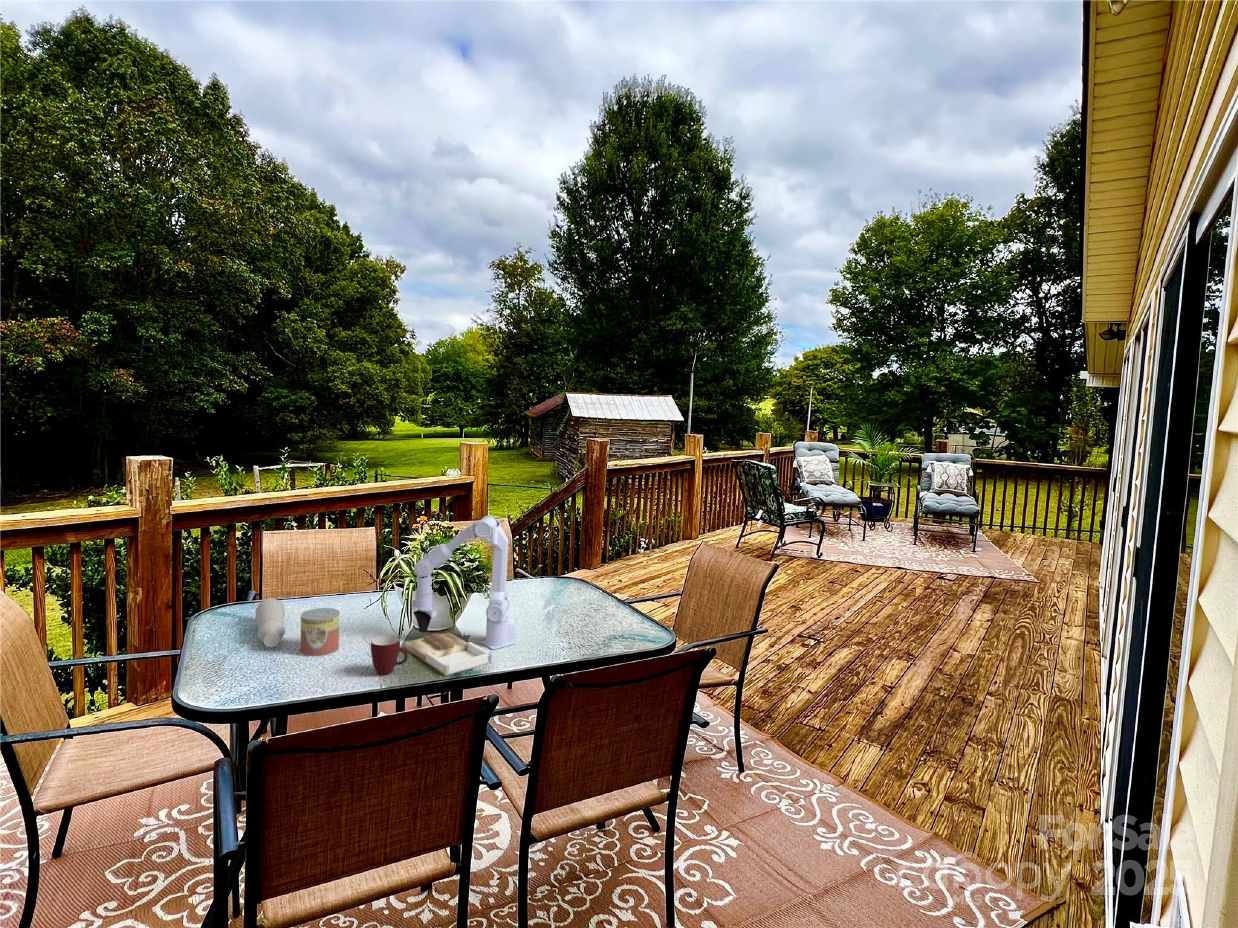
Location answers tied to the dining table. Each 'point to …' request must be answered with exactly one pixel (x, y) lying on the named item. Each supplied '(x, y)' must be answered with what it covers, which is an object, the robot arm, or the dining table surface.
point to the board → (422, 647)
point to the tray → (460, 660)
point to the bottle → (270, 621)
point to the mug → (386, 653)
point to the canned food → (319, 632)
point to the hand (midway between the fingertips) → (423, 631)
